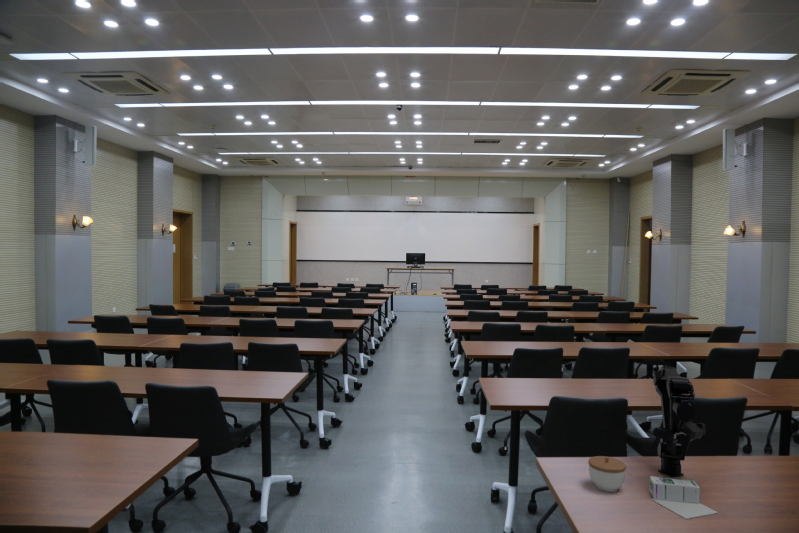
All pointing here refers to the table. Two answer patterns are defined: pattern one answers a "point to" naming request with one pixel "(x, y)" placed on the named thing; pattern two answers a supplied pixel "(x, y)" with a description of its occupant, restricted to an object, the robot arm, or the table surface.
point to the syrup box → (674, 489)
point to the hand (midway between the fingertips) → (678, 455)
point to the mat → (685, 508)
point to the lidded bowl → (607, 473)
